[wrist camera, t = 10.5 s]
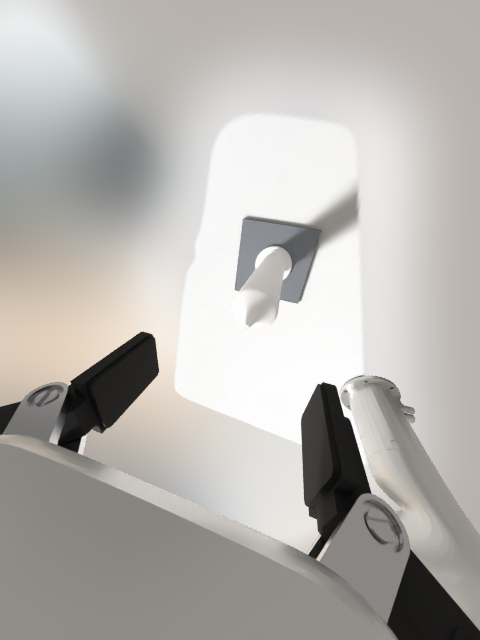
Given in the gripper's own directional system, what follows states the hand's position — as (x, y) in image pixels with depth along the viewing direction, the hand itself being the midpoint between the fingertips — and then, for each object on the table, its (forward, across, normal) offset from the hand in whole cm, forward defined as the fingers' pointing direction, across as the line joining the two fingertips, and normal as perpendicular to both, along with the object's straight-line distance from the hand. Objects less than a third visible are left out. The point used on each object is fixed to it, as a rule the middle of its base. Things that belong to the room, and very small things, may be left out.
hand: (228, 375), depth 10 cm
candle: (+31, 0, 0) cm, 31 cm away
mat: (+31, +1, -1) cm, 31 cm away
